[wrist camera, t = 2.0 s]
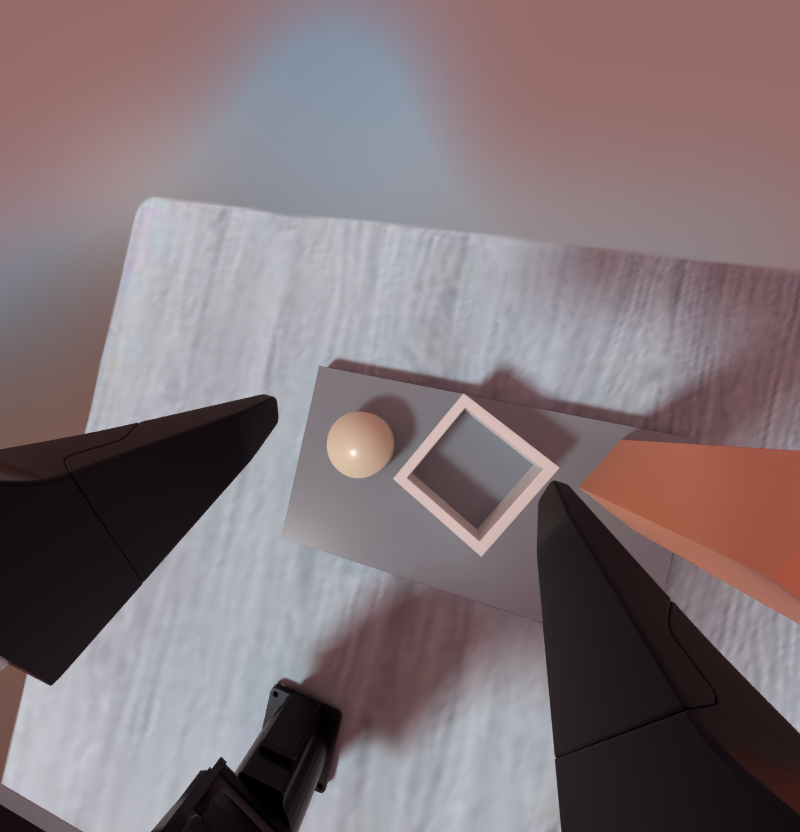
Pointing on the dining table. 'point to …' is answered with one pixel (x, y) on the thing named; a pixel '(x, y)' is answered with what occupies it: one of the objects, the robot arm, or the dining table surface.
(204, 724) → the dining table surface
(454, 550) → the board
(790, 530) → the orange square prism
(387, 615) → the dining table surface
